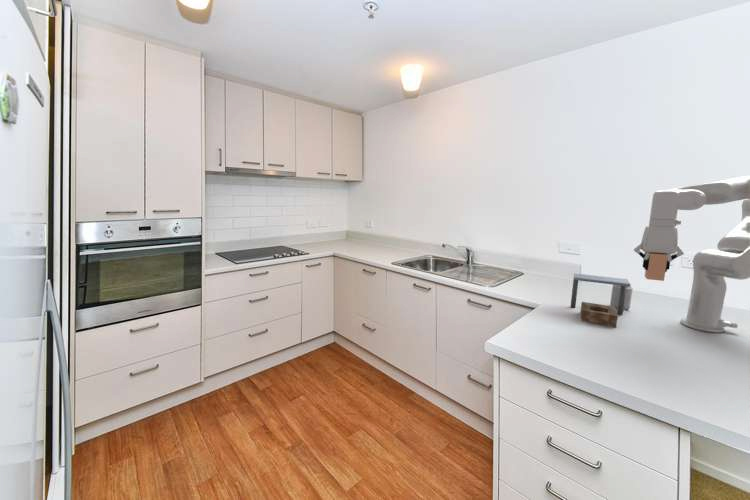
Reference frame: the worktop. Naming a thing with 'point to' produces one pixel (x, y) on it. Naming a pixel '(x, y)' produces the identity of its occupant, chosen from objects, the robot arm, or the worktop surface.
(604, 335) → the worktop surface
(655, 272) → the peg
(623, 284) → the grey arch frame
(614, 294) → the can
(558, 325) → the worktop surface
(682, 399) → the worktop surface
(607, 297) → the worktop surface
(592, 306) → the socket block
